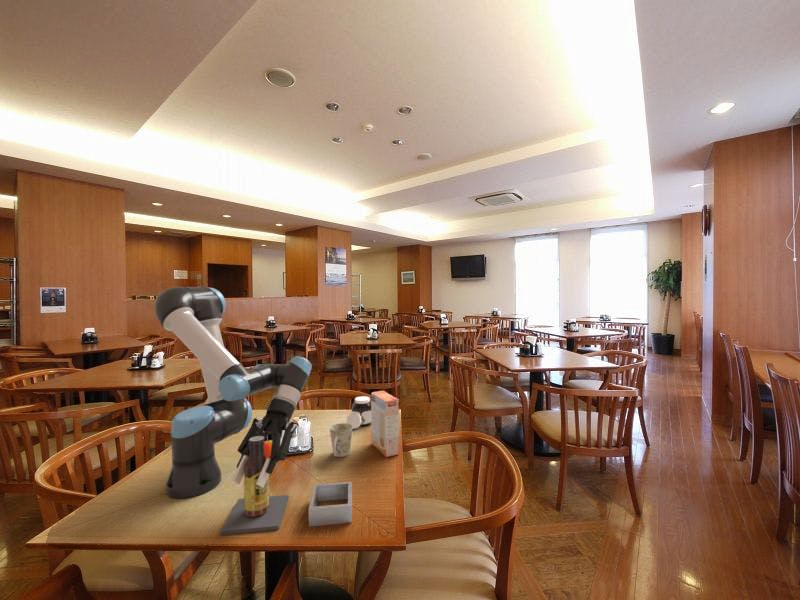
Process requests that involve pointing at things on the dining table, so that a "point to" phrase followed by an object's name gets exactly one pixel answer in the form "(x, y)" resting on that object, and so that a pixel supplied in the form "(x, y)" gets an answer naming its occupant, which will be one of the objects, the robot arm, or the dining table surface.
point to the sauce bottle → (255, 479)
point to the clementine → (267, 449)
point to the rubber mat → (264, 522)
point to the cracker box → (385, 423)
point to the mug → (341, 439)
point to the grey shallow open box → (330, 512)
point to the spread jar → (360, 413)
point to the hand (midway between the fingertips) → (247, 483)
